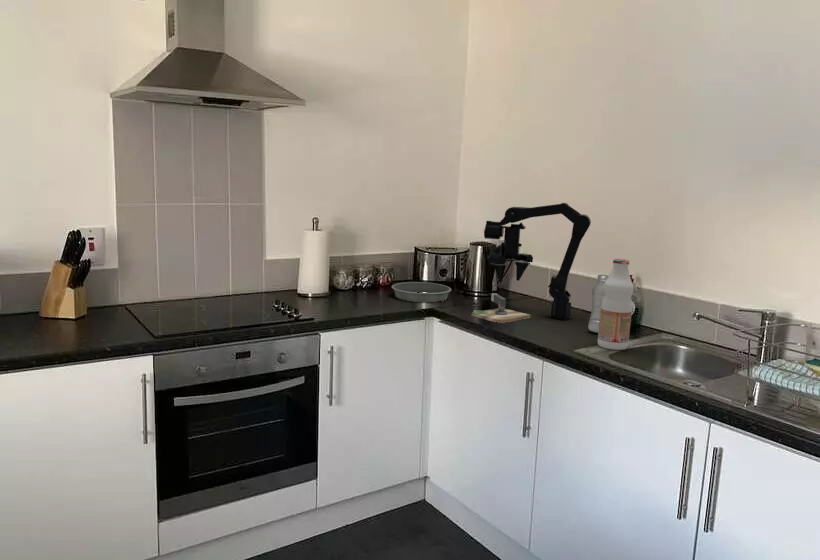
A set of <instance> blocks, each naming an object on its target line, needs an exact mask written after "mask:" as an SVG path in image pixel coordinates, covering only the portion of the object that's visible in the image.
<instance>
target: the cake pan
mask: <svg viewBox="0 0 820 560" xmlns="http://www.w3.org/2000/svg"><path fill="white" fill-rule="evenodd" d="M391 289H393V291H394V296H395V298H396V297H397V299H398V298H399V299H398V300H401V299H402V300H401V301H405V300H406V301H405V302H411V301H412V302H414V303H422V302H433V303H438V302H437V301H442V302H445V301H447V300H448V296H449V293H450V292H452V288H451V287H450V286H448V285H444V284H440V283H435V282H434V283H433V282H425V281H424V282H423V281H407V282H405V281H404V282H397V283H394V284H392V285H391ZM417 292H427V293H417ZM446 299H447V300H446ZM444 300H445V301H444Z"/></svg>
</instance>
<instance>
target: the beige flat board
mask: <svg viewBox="0 0 820 560" xmlns="http://www.w3.org/2000/svg"><path fill="white" fill-rule="evenodd" d="M470 315H471V317H475V318H479V319H481V320H486V321H488V322H489V321H490V322H492V323H496V322H497V323H496V324H500V323H501V324H507V323H511V322H517V321H521V320H522V319H523V320H526V319H531V314H529V313H524V312H520V311H517V310H512V309H509V308H505V311H500V310H498V308H492V309H485V310H480V309H478V310H477V309H474V310H473V312H471V314H470ZM523 320H522V321H523ZM506 322H507V323H506Z"/></svg>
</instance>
